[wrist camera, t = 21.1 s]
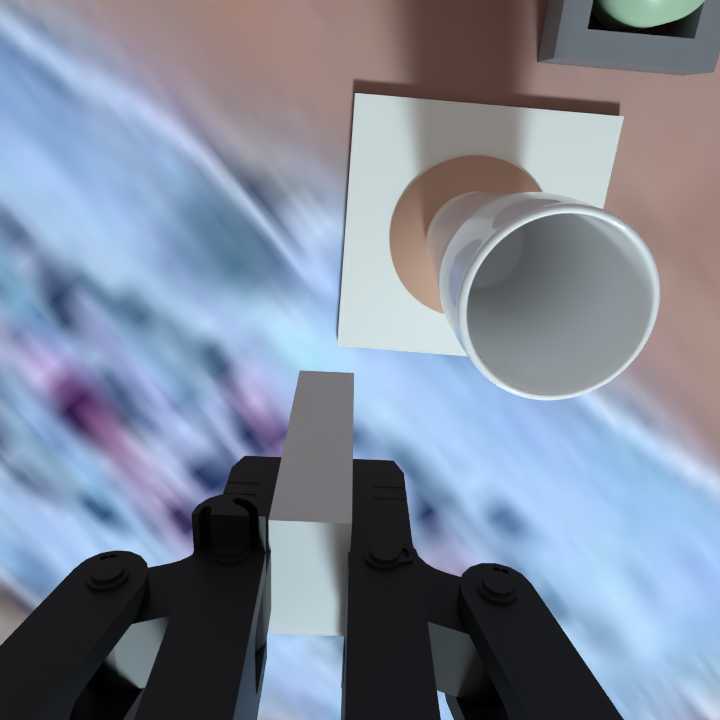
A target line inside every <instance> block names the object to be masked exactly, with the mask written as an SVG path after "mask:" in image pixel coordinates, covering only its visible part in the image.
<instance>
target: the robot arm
mask: <svg viewBox="0 0 720 720" xmlns="http://www.w3.org/2000/svg"><path fill="white" fill-rule="evenodd" d="M353 399H354V373H340V372H318V371H300V373H299V377H298V382H297V387H296V392H295V397H294V401H293V406H292V411H291V416H290V420H289V425H288V430H287V435H286V439H285V444H284V449H283V454H282V457H260V456H244V457H243V458H242V459H241V460H240V461H239V462H238V463H236V464H235V465H234V466H233V467H232V469H231V472H230V475H229V478H228V481H227V484H226V487H225V490H224V492H223V494H221V495H218V496H215V497H212V498H209V499H207V500H205V501H204V502H202V503H201V504H199V505H198V506H197V507H196V508H195V510H194V511H193V513H192V527H193V542H194V552H193V554H192V555H191V556H189V557H187V558H185V559H183V560H180V561H177V562H174V563H170V564H165V565H160V566H155V567H150V568H148V567H147V563H146V562H145V560H144V559H143V558H142V557H141V556H140V555H137V554H135V553H132V552H130V551H110V552H105V553H100V554H98V555H96V556H93V557H91V558H89V559H86V560H85V561H84V562H82V563H81V564H80V565H78V566H77V567H76V568H75V569H74V570H73V571H72V572H71V573H70V574H69V575H68V576H67V577H66V578H65V579H64V580H63V581H62V582H61V583H60V584H59V585H58V586H57V587H56V588H55V589H54V590H53V592H52V593H51V594H50V595H49V596H48V597H47V598H46V599H45V600H44V601H43V602H42V603H41V604H40V605H39V606H38V607H37V608H36V609H35V610H34V611H33V612H32V613H31V614H30V615H29V617H28V618H27V619H26V620H25V621H24V622H23V623H22V624H21V625H20V626H19V627H18V628H17V629H16V630H15V631H14V632H13V633H12V634H11V635H10V636H9V637H8V638H7V639H6V640H5V642H4V643H3V644H2V645H1V646H0V720H257V716H258V709H259V703H260V697H261V690H262V684H263V678H264V671H265V665H266V659H267V632H268V626H269V634H297V635H325V636H344V647H343V664H342V682H341V688H342V703H341V720H441V718H440V711H439V703H438V696H437V690H438V691H441V692H444V693H445V697H446V702H447V704H448V706H449V709H450V711H451V714H452V716H453V719H454V720H624V719H623V718H622V716H621V715H620V714H619V712H618V711H617V709H616V708H615V706H614V705H613V703H612V702H611V700H610V699H609V697H608V696H607V694H606V693H605V691H604V690H603V689H602V687H601V686H600V684H599V683H598V681H597V680H596V678H595V677H594V675H593V674H592V672H591V671H590V669H589V668H588V666H587V665H586V664H585V662H584V661H583V659H582V658H581V656H580V655H579V653H578V652H577V650H576V649H575V647H574V646H573V644H572V643H571V641H570V640H569V638H568V637H567V636H566V634H565V633H564V631H563V630H562V628H561V627H560V625H559V624H558V622H557V621H556V619H555V618H554V616H553V615H552V613H551V612H550V611H549V609H548V608H547V606H546V605H545V603H544V602H543V600H542V599H541V597H540V596H539V594H538V593H537V591H536V590H535V588H534V587H533V586H532V584H531V583H530V582H529V581H528V580H527V579H526V578H525V577H524V576H523V575H522V574H521V573H519V572H517V571H515V570H514V569H512V568H510V567H507V566H503V565H500V564H496V563H481V564H478V565H475V566H472V567H470V568H469V569H467V570H466V571H465V572H464V573H463V574H462V577H459V576H455V575H452V574H448V573H445V572H442V571H440V570H437V569H435V568H433V567H431V566H430V565H428V564H426V563H425V562H424V561H423V560H422V559H421V558H420V557H419V556H418V554H417V551H416V549H415V548H414V547H413V544H412V537H411V529H410V521H409V513H408V504H407V496H406V490H405V480H404V473H403V472H402V471H401V469H400V468H399V467H398V466H397V465H396V463H395V462H394V461H388V460H365V459H353Z"/></svg>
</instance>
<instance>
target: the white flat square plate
mask: <svg viewBox="0 0 720 720" xmlns="http://www.w3.org/2000/svg"><path fill="white" fill-rule="evenodd" d="M623 118H624V116H613V115H601V114H590V113H578V112H567V111H555V110H544V109H533V108H521V107H510V106H498V105H487V104H475V103H464V102H453V101H441V100H430V99H418V98H407V97H395V96H384V95H373V94H361V93H355V103H354V117H353V131H352V145H351V159H350V173H349V187H348V201H347V215H346V229H345V243H344V258H343V272H342V286H341V300H340V314H339V328H338V342H337V346H345V347H358V348H370V349H383V350H396V351H408V352H421V353H433V354H446V355H459V356H468V355H467V354H466V353H465V351H464V350H463V348H462V347H461V345H460V344H459V342H458V341H457V339H456V337H455V335H454V333H453V332H452V330H451V328H450V326H449V324H448V321H447V319H446V316H445V314H444V311H443V308H442V305H441V302H440V298H439V293H438V288H437V284H436V279H435V274H434V270H433V267H432V265H431V263H430V261H429V258H428V254H427V248H426V239H427V232H428V229H429V226H430V223H431V221H432V219H433V217H434V216H435V214H436V213H437V211H438V210H439V209H440V208H441V207H442V206H443V205H444V204H445V203H446V202H447V201H449V200H450V199H452V198H454V197H455V196H458V195H460V194H463V193H466V192H471V191H486V192H491V193H506V192H544V193H552V194H557V195H562V196H567V197H570V198H574V199H577V200H580V201H583V202H586V203H589V204H591V205H594V206H596V207H598V208H601V209H603V206H604V202H605V198H606V193H607V189H608V184H609V180H610V176H611V171H612V167H613V162H614V158H615V154H616V149H617V145H618V140H619V136H620V132H621V127H622V123H623Z"/></svg>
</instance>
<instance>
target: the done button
mask: <svg viewBox="0 0 720 720" xmlns="http://www.w3.org/2000/svg"><path fill="white" fill-rule="evenodd" d="M704 1H705V0H593V4H592V9H591V11H592V13H593V14H594V16H595V17H596V19H597V20H598V21H599V22H600V23H601V24H602V25H603V26H605V27H606V28H608V29H610V30H612V31H615V32H625V33H630V32H636V31H639V30H643V29H646V28H650V27H654V26H657V25H661V24H664V23H668V22H671V21H675V20H678V19H680V18H683V17H685V16H687V15H688V14H690V13H691V12H693V11H694V10H696V9H697V8H698V7H699V6H700V5H701V4H702V3H703V2H704Z"/></svg>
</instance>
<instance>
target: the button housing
mask: <svg viewBox="0 0 720 720" xmlns="http://www.w3.org/2000/svg"><path fill="white" fill-rule="evenodd" d="M592 4H593V0H548V4H547V10H546V16H545V21H544V27H543V33H542V39H541V45H540V50H539V56H538V62H540V63H551V64H563V65H574V66H585V67H596V68H608V69H619V70H630V71H641V72H652V73H664V74H675V75H691V74H701V73H711V72H714V70H715V66H716V63H717V59H718V55H719V52H720V0H705V1H704V2H703V3H702V4H701V5H700V6H699V7H698V8H697V9H696V10H694V11H693V12H691V13H690V14H688V15H687V16H685V17H683V18H680V19H678V20H675V21H671V24H670V28H669V32H668V36H658V35H647V34H636V33H625V32H614V31H603V30H591V29H588V24H589V19H590V14H591V9H592Z"/></svg>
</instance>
